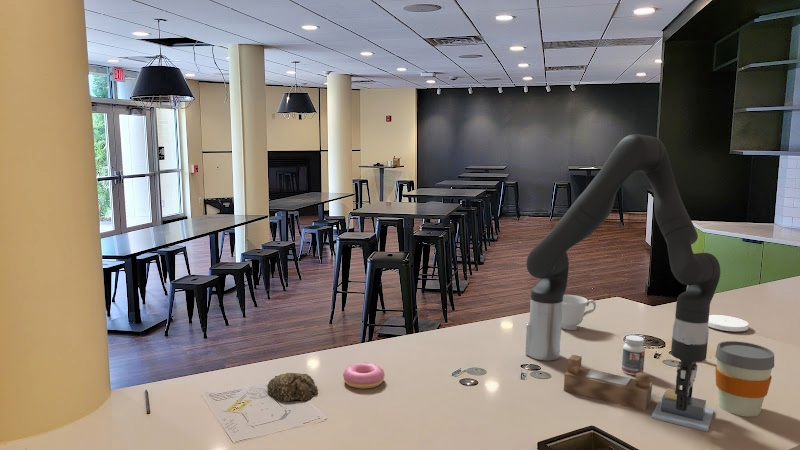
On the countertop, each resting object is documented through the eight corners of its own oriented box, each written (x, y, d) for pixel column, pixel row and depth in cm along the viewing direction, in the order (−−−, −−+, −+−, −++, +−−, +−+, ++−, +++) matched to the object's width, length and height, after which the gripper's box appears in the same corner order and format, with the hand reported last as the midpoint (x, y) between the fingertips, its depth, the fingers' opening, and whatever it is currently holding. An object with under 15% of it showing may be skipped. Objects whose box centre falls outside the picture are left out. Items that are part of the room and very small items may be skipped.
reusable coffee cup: (767, 424, 143) (775, 362, 141) (707, 411, 150) (713, 351, 147) (769, 405, 153) (776, 347, 151) (713, 393, 160) (718, 337, 158)
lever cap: (660, 411, 148) (662, 393, 147) (664, 403, 152) (665, 386, 151) (702, 421, 143) (704, 403, 142) (704, 413, 147) (706, 395, 146)
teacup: (599, 333, 206) (601, 304, 204) (554, 332, 206) (556, 303, 205) (589, 322, 218) (591, 294, 216) (546, 321, 218) (548, 293, 217)
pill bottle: (644, 376, 170) (647, 342, 168) (623, 374, 171) (625, 340, 170) (641, 369, 175) (643, 335, 174) (620, 367, 177) (622, 333, 175)
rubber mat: (651, 417, 145) (651, 415, 145) (660, 399, 155) (660, 397, 155) (707, 431, 139) (707, 429, 139) (713, 411, 149) (713, 409, 149)
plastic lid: (697, 320, 224) (697, 313, 223) (738, 322, 222) (739, 316, 221) (710, 332, 210) (711, 325, 209) (754, 335, 208) (755, 328, 208)
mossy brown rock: (264, 386, 160) (264, 368, 159) (311, 379, 165) (311, 361, 164) (274, 407, 148) (274, 387, 147) (324, 399, 153) (324, 379, 152)
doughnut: (365, 371, 171) (365, 356, 170) (393, 383, 163) (393, 368, 162) (334, 381, 163) (334, 366, 163) (361, 395, 155) (361, 379, 155)
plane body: (563, 390, 160) (565, 360, 159) (571, 381, 166) (573, 352, 165) (645, 410, 149) (647, 378, 148) (650, 399, 155) (653, 369, 154)
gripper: (677, 326, 152) (671, 389, 155) (667, 343, 140) (661, 410, 143) (711, 332, 148) (705, 396, 151) (703, 349, 136) (697, 418, 139)
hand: (683, 403), depth 147 cm, fingers open, 8 cm apart
